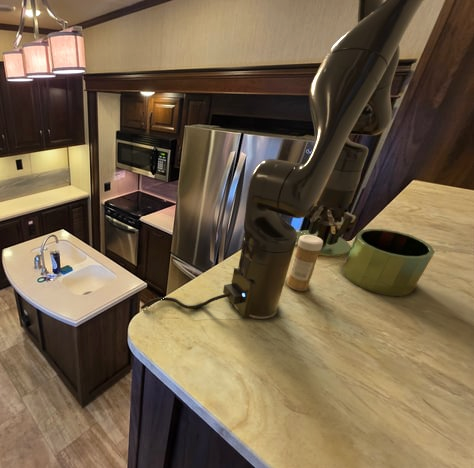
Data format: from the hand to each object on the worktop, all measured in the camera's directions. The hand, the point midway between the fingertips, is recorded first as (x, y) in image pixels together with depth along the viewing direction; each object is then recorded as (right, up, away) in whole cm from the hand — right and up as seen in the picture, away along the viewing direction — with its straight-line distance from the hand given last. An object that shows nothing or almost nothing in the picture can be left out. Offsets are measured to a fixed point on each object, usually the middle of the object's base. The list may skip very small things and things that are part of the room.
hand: (321, 238), depth 85 cm
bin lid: (0, -1, +1) cm, 2 cm away
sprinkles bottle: (-16, -12, -14) cm, 25 cm away
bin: (+4, -10, -14) cm, 17 cm away
